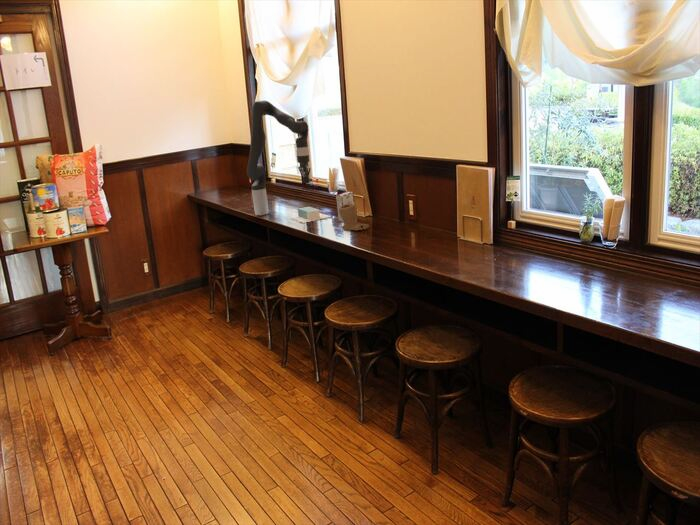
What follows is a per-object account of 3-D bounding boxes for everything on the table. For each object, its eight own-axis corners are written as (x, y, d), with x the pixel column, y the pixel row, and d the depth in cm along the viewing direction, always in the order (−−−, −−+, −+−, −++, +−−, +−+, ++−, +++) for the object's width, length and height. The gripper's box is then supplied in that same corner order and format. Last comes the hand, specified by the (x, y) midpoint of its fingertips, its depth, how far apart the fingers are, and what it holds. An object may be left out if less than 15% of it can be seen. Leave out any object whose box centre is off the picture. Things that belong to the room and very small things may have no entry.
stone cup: (336, 230, 356) (333, 205, 351) (350, 226, 364) (348, 200, 359) (355, 233, 345) (353, 207, 341) (369, 228, 353) (367, 203, 349)
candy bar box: (349, 217, 385) (346, 191, 380) (355, 218, 382) (353, 191, 377) (338, 221, 376) (335, 195, 372) (344, 222, 373) (342, 195, 369)
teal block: (297, 208, 396) (307, 211, 385) (308, 206, 400) (318, 209, 388) (298, 216, 398) (308, 219, 386) (309, 214, 402) (319, 217, 390)
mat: (291, 219, 394) (291, 218, 394) (318, 213, 404) (318, 212, 403) (303, 223, 380) (302, 222, 380) (331, 217, 389) (331, 216, 389)
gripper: (292, 154, 386) (295, 182, 391) (302, 156, 375) (305, 184, 380) (303, 152, 389) (306, 180, 395) (313, 154, 378) (315, 182, 384)
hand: (305, 182), depth 387 cm, fingers closed
